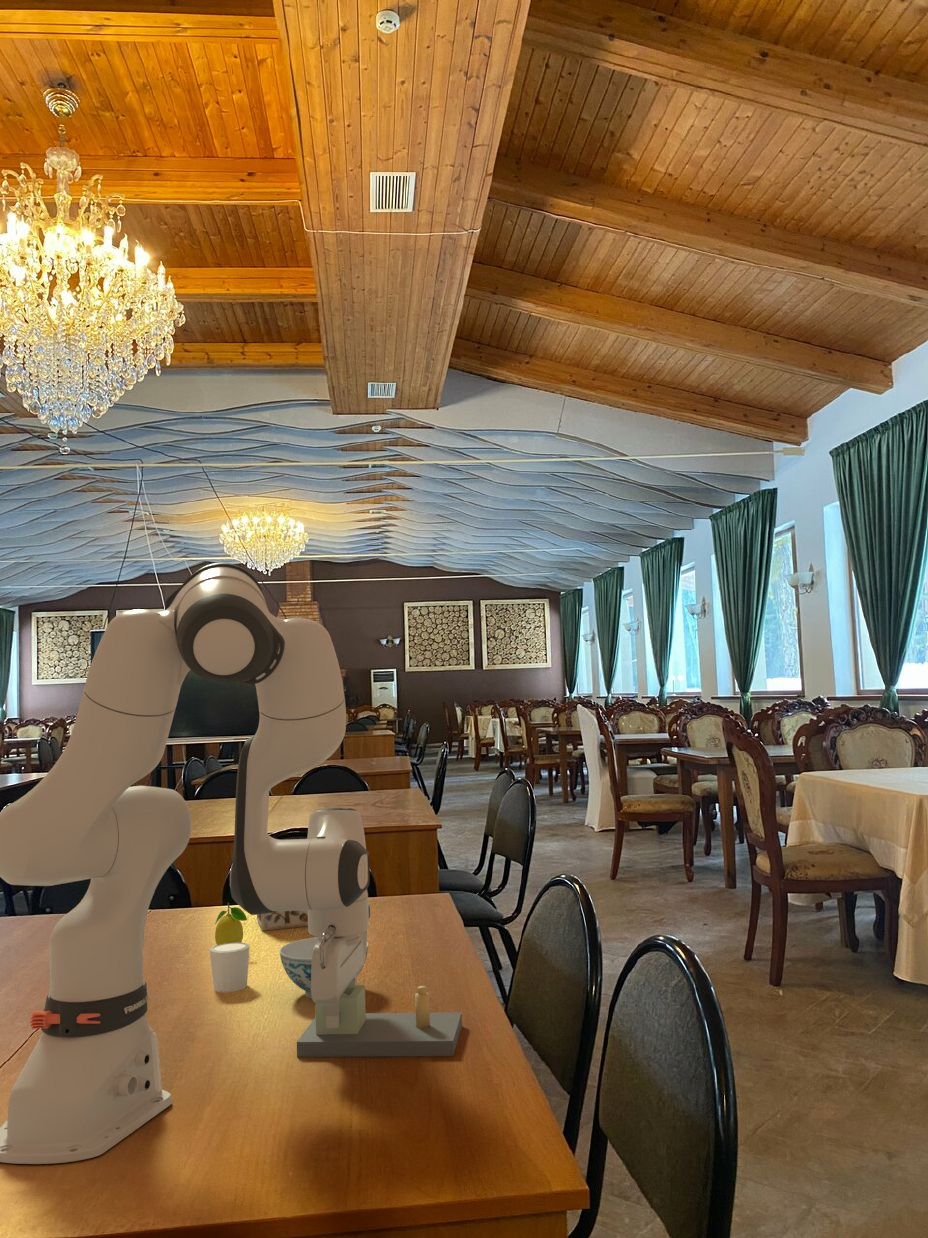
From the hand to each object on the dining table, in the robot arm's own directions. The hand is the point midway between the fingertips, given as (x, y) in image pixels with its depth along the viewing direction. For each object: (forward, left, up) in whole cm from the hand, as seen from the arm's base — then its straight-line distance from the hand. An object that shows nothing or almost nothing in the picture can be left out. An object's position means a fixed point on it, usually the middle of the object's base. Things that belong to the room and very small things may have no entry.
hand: (341, 1015), depth 139 cm
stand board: (0, -6, -4) cm, 7 cm away
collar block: (0, 0, -2) cm, 2 cm away
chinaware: (+23, +8, -4) cm, 25 cm away
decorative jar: (+75, +30, -4) cm, 81 cm away
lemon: (+50, +34, -4) cm, 61 cm away
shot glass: (+27, +26, -4) cm, 38 cm away
